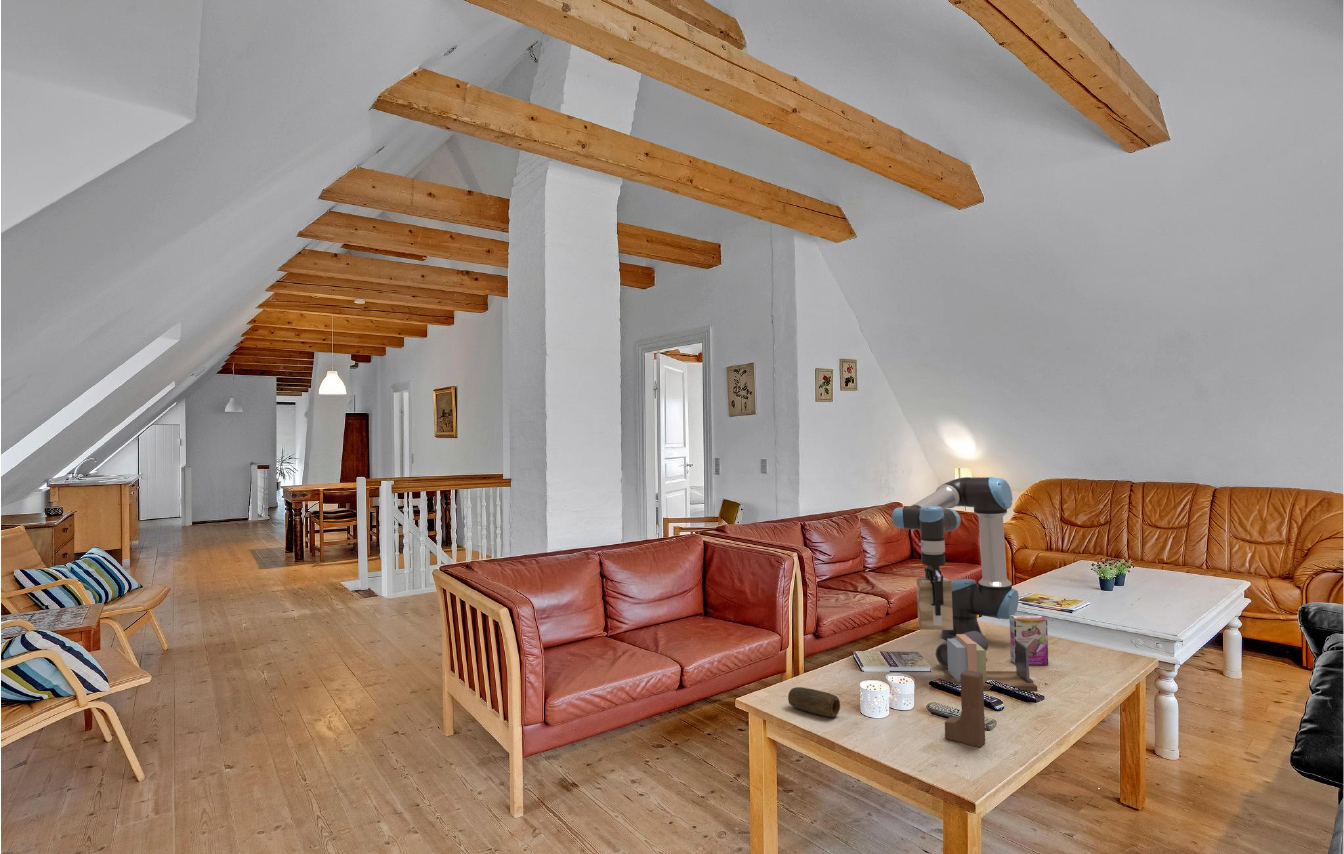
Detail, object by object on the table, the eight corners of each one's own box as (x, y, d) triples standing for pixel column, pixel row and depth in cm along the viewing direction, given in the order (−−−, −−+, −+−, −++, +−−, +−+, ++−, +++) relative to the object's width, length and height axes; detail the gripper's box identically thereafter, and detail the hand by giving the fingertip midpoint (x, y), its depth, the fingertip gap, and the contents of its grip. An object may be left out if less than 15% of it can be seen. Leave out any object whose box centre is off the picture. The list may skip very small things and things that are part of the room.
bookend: (1016, 674, 220) (1015, 640, 220) (1022, 674, 220) (1021, 640, 220) (1027, 682, 212) (1025, 647, 212) (1033, 682, 212) (1032, 647, 212)
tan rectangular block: (918, 625, 225) (916, 578, 226) (949, 626, 224) (947, 578, 225) (921, 629, 221) (920, 580, 221) (953, 629, 220) (951, 580, 220)
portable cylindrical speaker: (843, 714, 194) (842, 691, 194) (832, 722, 189) (831, 698, 189) (797, 702, 204) (796, 680, 204) (785, 710, 198) (785, 687, 198)
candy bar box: (1016, 665, 233) (1014, 618, 233) (1010, 661, 238) (1008, 614, 238) (1049, 666, 232) (1047, 618, 232) (1043, 661, 237) (1041, 614, 237)
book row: (948, 671, 224) (946, 634, 224) (975, 671, 223) (974, 634, 223) (958, 682, 213) (957, 643, 213) (988, 683, 212) (986, 643, 212)
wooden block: (944, 738, 176) (942, 670, 177) (950, 733, 180) (947, 665, 180) (980, 748, 171) (978, 677, 171) (985, 741, 174) (983, 672, 175)
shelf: (944, 675, 225) (944, 670, 225) (1018, 675, 223) (1018, 671, 223) (958, 689, 211) (957, 685, 211) (1037, 690, 209) (1037, 686, 209)
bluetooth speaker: (961, 675, 225) (959, 645, 225) (934, 668, 232) (933, 639, 232) (990, 659, 240) (989, 631, 240) (964, 654, 247) (963, 627, 247)
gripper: (914, 548, 232) (917, 615, 232) (928, 557, 215) (931, 629, 214) (937, 548, 232) (939, 616, 231) (952, 556, 214) (955, 630, 213)
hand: (935, 622), depth 223 cm, fingers closed on tan rectangular block, 4 cm apart
